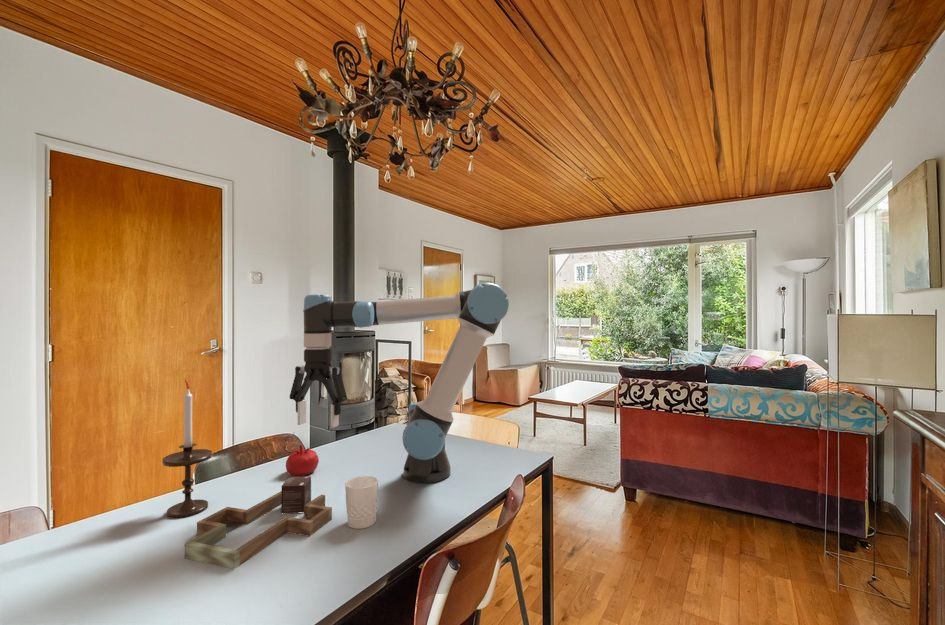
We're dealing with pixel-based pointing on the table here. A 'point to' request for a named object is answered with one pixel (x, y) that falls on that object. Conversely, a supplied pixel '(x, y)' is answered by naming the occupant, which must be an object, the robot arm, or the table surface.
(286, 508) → the box
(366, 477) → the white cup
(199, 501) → the candlestick
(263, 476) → the table surface
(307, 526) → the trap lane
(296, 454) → the pomegranate
